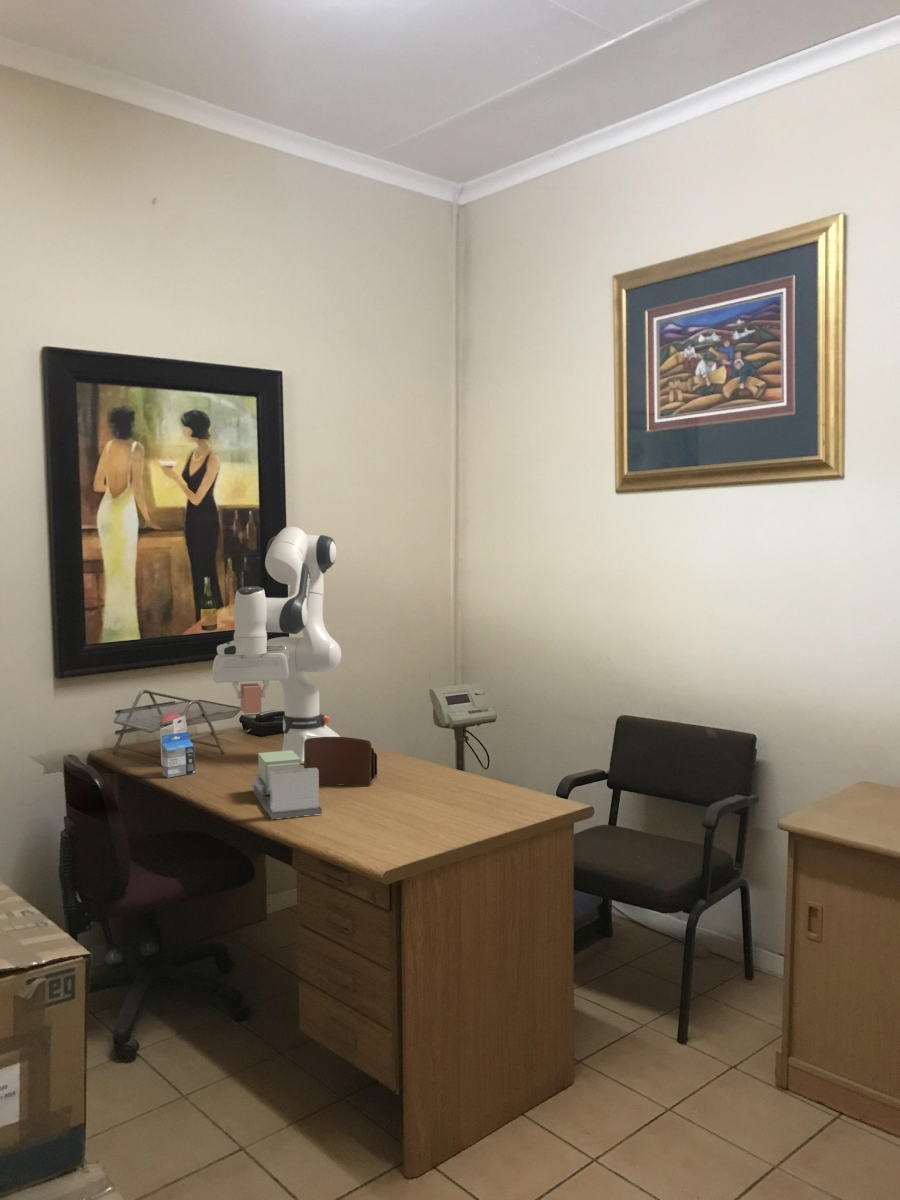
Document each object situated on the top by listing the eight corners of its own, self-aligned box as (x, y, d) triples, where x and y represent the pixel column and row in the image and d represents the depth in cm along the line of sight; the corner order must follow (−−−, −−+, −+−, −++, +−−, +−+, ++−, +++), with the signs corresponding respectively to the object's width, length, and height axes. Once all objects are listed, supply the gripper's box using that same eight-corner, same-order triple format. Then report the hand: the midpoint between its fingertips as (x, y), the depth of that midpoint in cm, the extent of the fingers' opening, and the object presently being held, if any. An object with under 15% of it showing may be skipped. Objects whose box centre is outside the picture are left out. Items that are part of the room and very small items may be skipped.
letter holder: (371, 787, 270) (371, 738, 269) (303, 784, 272) (303, 736, 271) (377, 777, 280) (377, 731, 279) (312, 775, 282) (312, 729, 281)
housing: (257, 708, 260) (257, 683, 260) (261, 712, 254) (261, 686, 253) (240, 709, 259) (240, 683, 258) (244, 713, 252) (244, 687, 252)
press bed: (251, 790, 265) (251, 750, 264) (297, 786, 270) (297, 746, 269) (271, 820, 238) (270, 775, 237) (321, 814, 243) (321, 771, 242)
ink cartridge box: (173, 759, 301) (172, 713, 300) (188, 760, 300) (187, 714, 299) (160, 765, 292) (159, 719, 291) (174, 766, 291) (174, 719, 290)
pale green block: (258, 784, 265) (258, 753, 264) (292, 781, 268) (292, 750, 268) (266, 795, 254) (265, 762, 253) (301, 792, 258) (301, 759, 257)
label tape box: (167, 778, 278) (167, 737, 277) (161, 775, 281) (161, 735, 280) (195, 773, 283) (195, 733, 282) (189, 770, 286) (188, 731, 286)
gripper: (286, 644, 262) (286, 693, 262) (211, 646, 254) (211, 697, 255) (291, 646, 256) (291, 697, 257) (213, 649, 249) (214, 701, 249)
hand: (250, 697), depth 256 cm, fingers closed on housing, 4 cm apart
